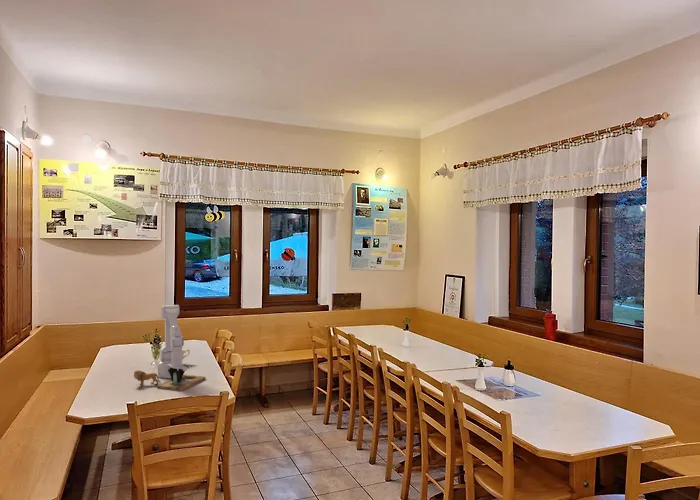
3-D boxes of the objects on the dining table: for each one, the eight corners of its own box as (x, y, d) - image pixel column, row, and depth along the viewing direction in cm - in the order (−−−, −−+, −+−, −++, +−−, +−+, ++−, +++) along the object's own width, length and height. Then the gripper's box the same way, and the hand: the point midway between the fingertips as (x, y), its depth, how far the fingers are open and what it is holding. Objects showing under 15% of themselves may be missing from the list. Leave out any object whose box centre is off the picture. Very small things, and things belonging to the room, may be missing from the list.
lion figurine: (134, 387, 275) (134, 371, 275) (133, 385, 279) (133, 369, 279) (161, 384, 282) (162, 368, 282) (160, 381, 287) (160, 366, 287)
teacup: (189, 366, 323) (189, 351, 322) (165, 367, 318) (165, 352, 318) (189, 361, 334) (189, 347, 334) (166, 362, 330) (166, 348, 329)
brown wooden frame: (157, 388, 275) (157, 385, 275) (181, 376, 298) (182, 374, 298) (182, 391, 271) (182, 388, 271) (205, 379, 294) (205, 376, 294)
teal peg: (171, 385, 278) (171, 372, 278) (176, 383, 282) (177, 371, 282) (176, 386, 277) (176, 374, 277) (181, 384, 280) (182, 372, 280)
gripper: (191, 358, 279) (191, 381, 279) (173, 354, 286) (173, 377, 286) (181, 360, 273) (181, 384, 273) (163, 357, 280) (163, 380, 280)
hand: (176, 381), depth 279 cm, fingers closed on teal peg, 4 cm apart
